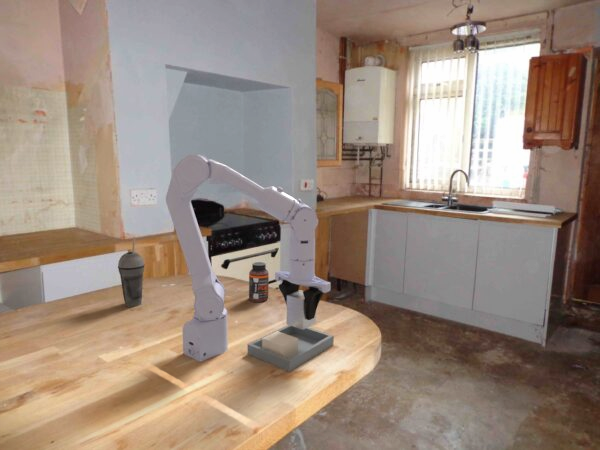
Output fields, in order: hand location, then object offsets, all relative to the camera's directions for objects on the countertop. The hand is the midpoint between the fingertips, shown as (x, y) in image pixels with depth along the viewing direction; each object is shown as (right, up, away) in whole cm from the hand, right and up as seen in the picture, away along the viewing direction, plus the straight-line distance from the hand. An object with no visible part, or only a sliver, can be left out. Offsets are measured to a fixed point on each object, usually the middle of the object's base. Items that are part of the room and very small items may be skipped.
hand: (301, 315), depth 97 cm
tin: (0, -2, 0) cm, 2 cm away
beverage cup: (-49, -3, +27) cm, 56 cm away
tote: (-2, -8, -1) cm, 8 cm away
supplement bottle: (-13, -2, +33) cm, 35 cm away
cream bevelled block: (-5, -8, -4) cm, 10 cm away
